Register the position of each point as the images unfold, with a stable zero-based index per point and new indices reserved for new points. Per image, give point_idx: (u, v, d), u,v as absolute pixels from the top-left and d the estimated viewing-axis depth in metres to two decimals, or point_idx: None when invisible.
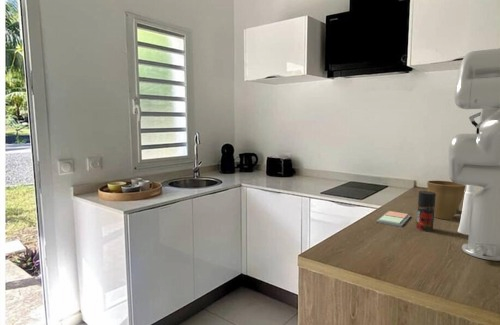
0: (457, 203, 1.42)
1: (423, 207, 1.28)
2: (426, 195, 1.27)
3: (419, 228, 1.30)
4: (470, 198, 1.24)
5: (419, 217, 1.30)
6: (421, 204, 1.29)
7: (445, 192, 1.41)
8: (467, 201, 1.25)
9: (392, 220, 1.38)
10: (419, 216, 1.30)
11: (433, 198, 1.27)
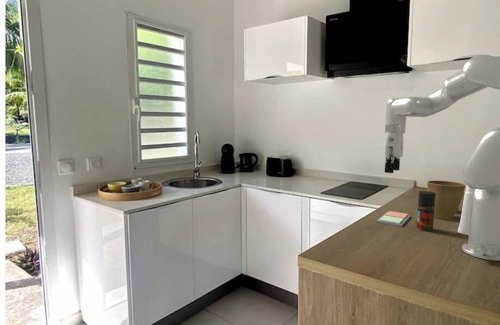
0: (457, 203, 1.42)
1: (423, 207, 1.28)
2: (426, 195, 1.27)
3: (419, 228, 1.30)
4: (470, 198, 1.24)
5: (419, 217, 1.30)
6: (421, 204, 1.29)
7: (445, 192, 1.41)
8: (467, 201, 1.25)
9: (392, 220, 1.38)
10: (419, 216, 1.30)
11: (433, 198, 1.27)
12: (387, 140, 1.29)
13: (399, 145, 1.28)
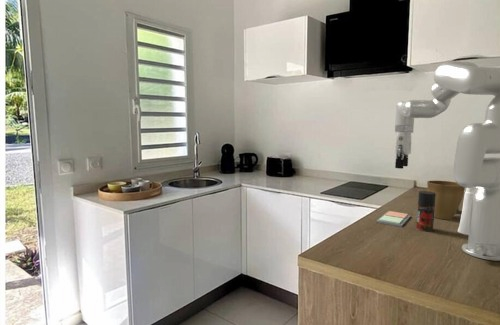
0: (457, 203, 1.42)
1: (423, 207, 1.28)
2: (426, 195, 1.27)
3: (419, 228, 1.30)
4: (470, 198, 1.24)
5: (419, 217, 1.30)
6: (421, 204, 1.29)
7: (445, 192, 1.41)
8: (467, 201, 1.25)
9: (392, 220, 1.38)
10: (419, 216, 1.30)
11: (433, 198, 1.27)
12: (397, 139, 1.44)
13: (408, 143, 1.43)
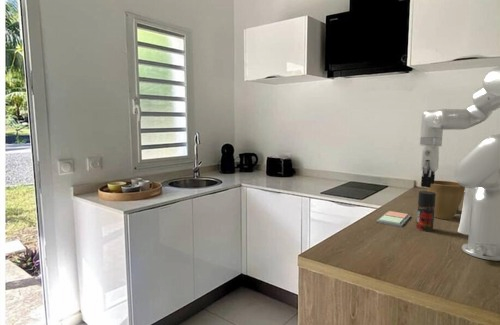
0: (457, 203, 1.42)
1: (423, 207, 1.28)
2: (426, 195, 1.27)
3: (419, 228, 1.30)
4: (470, 198, 1.24)
5: (419, 217, 1.30)
6: (421, 204, 1.29)
7: (445, 192, 1.41)
8: (467, 201, 1.25)
9: (392, 220, 1.38)
10: (419, 216, 1.30)
11: (433, 198, 1.27)
12: (423, 153, 1.25)
13: (436, 158, 1.24)
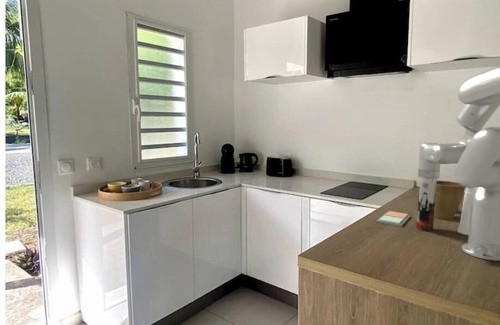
0: (457, 203, 1.42)
1: None
2: None
3: (419, 228, 1.30)
4: (470, 198, 1.24)
5: None
6: None
7: (445, 192, 1.41)
8: (467, 201, 1.25)
9: (392, 220, 1.38)
10: None
11: None
12: (421, 186, 1.26)
13: (434, 191, 1.26)
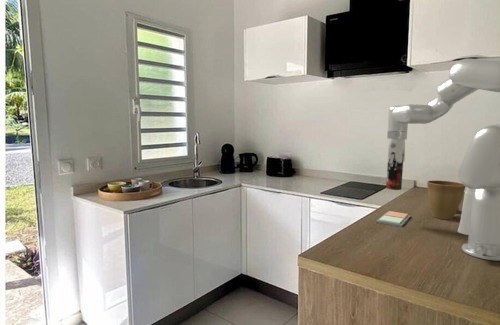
0: (457, 203, 1.42)
1: None
2: None
3: (388, 187, 1.37)
4: (470, 198, 1.24)
5: None
6: (389, 164, 1.36)
7: (445, 192, 1.41)
8: (467, 201, 1.25)
9: (392, 220, 1.38)
10: None
11: None
12: (389, 146, 1.33)
13: (401, 151, 1.33)
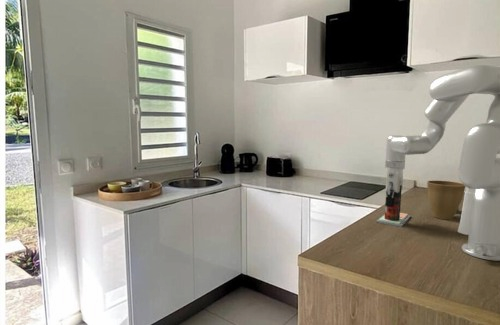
0: (457, 203, 1.42)
1: None
2: None
3: (386, 218, 1.39)
4: (470, 198, 1.24)
5: (386, 208, 1.39)
6: None
7: (445, 192, 1.41)
8: (467, 201, 1.25)
9: None
10: (386, 207, 1.39)
11: None
12: (387, 175, 1.35)
13: (399, 180, 1.34)
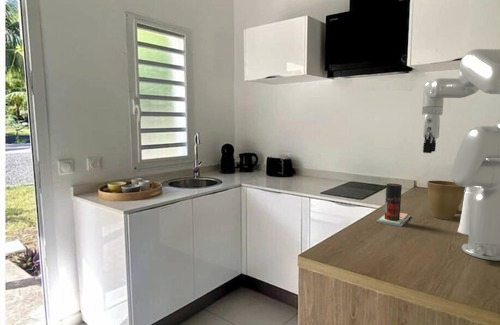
0: (457, 203, 1.42)
1: (389, 198, 1.37)
2: (392, 187, 1.36)
3: (386, 218, 1.39)
4: (470, 198, 1.24)
5: (386, 208, 1.39)
6: (388, 195, 1.38)
7: (445, 192, 1.41)
8: (467, 201, 1.25)
9: None
10: (386, 207, 1.39)
11: (399, 190, 1.36)
12: (425, 121, 1.34)
13: (437, 126, 1.33)
